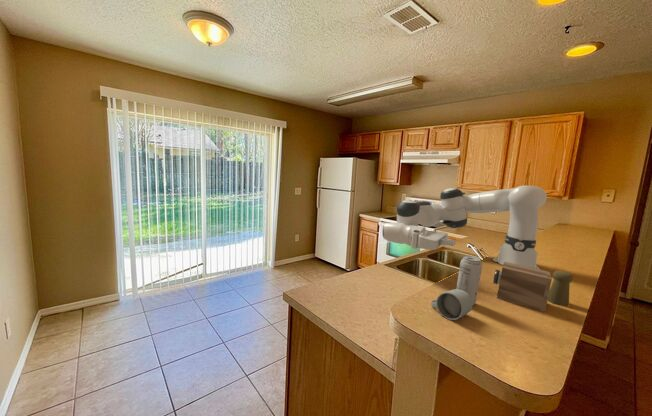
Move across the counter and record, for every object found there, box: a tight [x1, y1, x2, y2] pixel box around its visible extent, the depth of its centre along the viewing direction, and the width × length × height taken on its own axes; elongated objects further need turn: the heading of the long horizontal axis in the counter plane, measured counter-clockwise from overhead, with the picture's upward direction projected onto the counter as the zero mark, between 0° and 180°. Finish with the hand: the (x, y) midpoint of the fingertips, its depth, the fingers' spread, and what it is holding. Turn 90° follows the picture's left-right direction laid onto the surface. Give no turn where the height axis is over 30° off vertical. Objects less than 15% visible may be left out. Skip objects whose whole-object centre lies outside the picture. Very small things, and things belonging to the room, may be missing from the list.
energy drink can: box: [455, 255, 483, 305], centre depth 86 cm, size 6×6×15 cm
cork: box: [547, 269, 574, 307], centre depth 93 cm, size 6×6×11 cm
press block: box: [496, 262, 553, 313], centre depth 92 cm, size 9×13×11 cm
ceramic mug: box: [430, 288, 474, 321], centre depth 80 cm, size 11×8×8 cm
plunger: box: [492, 269, 502, 285], centre depth 93 cm, size 5×13×5 cm, turn 54°
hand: (454, 243), depth 105 cm, fingers closed
